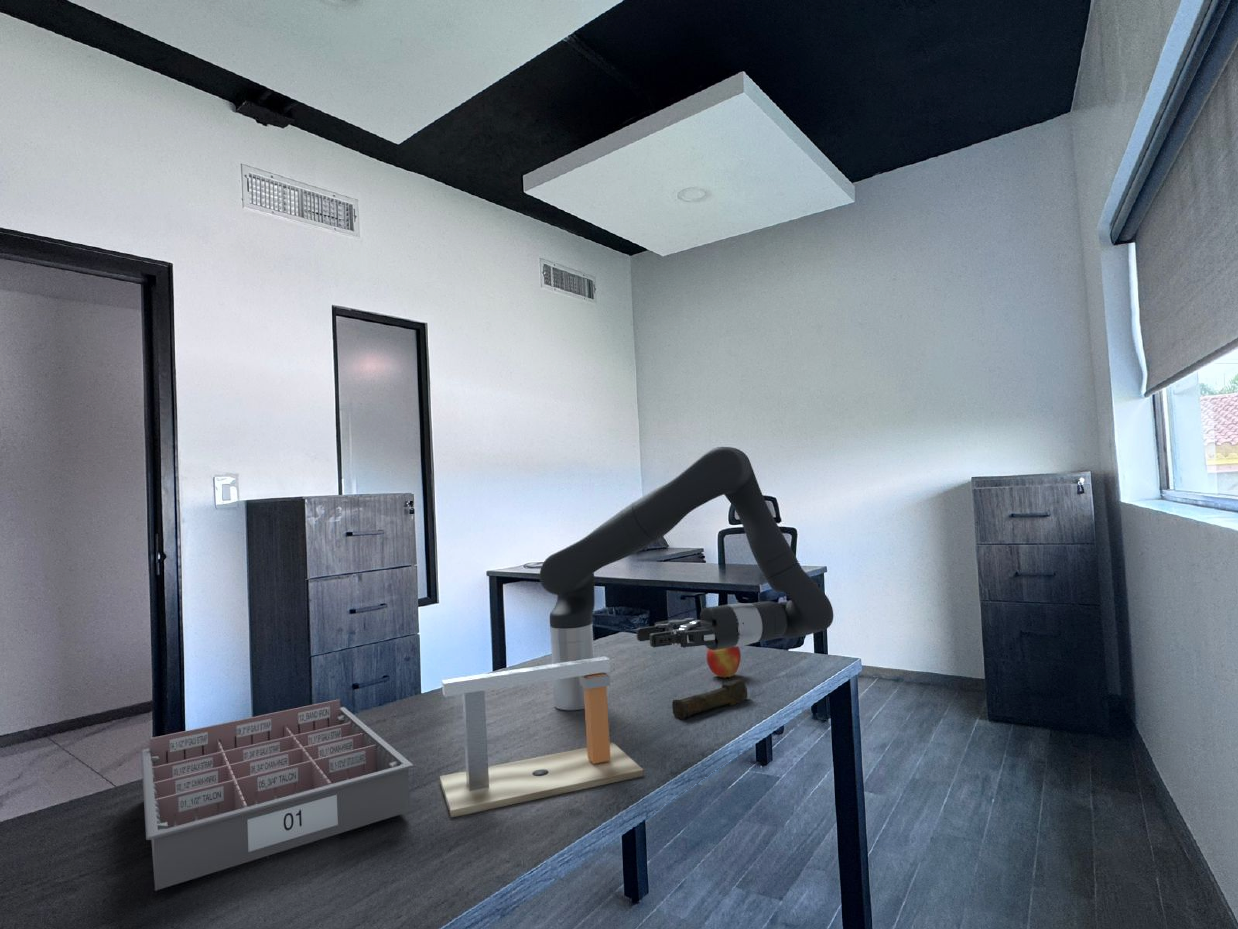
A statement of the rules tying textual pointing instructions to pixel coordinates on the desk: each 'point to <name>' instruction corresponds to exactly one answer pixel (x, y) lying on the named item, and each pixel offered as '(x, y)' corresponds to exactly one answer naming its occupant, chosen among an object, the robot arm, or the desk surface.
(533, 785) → the board
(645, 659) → the desk surface
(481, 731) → the bar
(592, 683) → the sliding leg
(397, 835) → the desk surface
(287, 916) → the desk surface
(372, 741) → the organizer tray
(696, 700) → the hand tool
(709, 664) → the apple
